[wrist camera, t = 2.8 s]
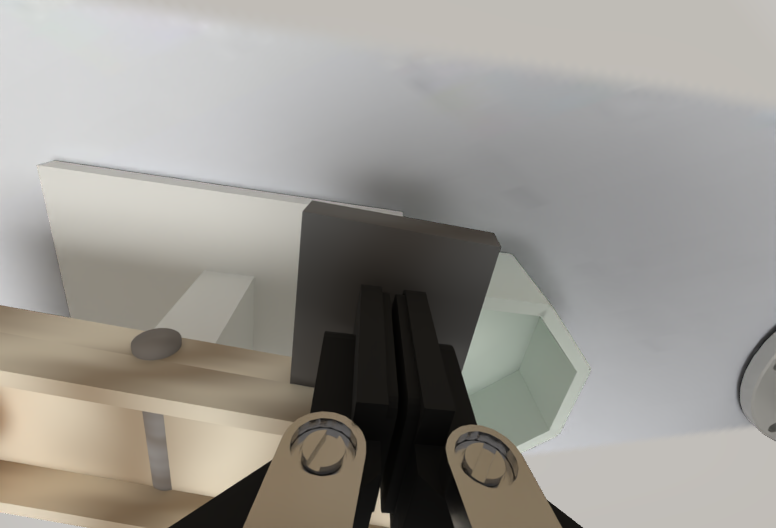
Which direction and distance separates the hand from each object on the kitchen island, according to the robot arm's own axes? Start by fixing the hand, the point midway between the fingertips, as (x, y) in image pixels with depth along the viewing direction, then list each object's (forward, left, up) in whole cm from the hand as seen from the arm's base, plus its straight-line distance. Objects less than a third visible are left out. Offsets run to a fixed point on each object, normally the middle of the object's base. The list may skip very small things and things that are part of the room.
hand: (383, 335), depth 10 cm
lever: (+7, +3, -3) cm, 8 cm away
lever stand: (+7, +6, -10) cm, 14 cm away
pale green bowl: (-5, +6, -10) cm, 13 cm away
